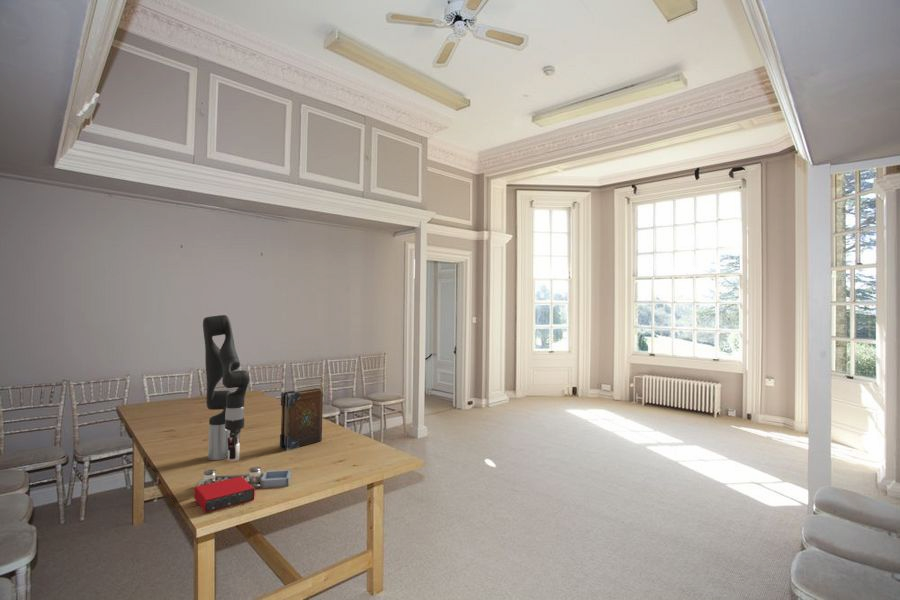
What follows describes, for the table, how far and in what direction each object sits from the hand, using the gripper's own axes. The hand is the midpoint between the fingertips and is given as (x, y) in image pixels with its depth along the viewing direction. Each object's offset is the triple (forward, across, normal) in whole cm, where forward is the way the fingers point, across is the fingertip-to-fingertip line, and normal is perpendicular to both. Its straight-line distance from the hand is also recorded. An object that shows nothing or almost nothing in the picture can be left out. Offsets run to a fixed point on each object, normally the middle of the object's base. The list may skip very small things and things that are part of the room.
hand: (233, 456), depth 193 cm
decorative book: (+12, -50, +25) cm, 58 cm away
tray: (+11, +2, +18) cm, 21 cm away
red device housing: (+11, +18, +1) cm, 21 cm away
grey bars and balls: (+11, +2, 0) cm, 12 cm away
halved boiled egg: (+1, 0, 0) cm, 1 cm away
